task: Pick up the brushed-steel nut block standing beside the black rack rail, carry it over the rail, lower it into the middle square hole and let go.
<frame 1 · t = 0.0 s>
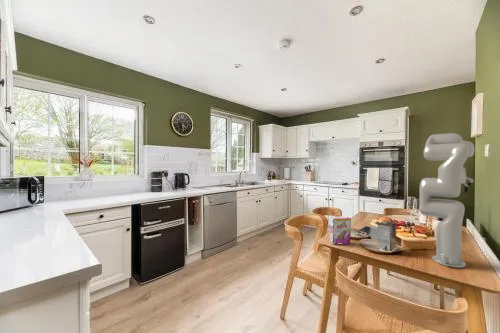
hand: (454, 192, 144), 31 cm above the table, tool pointing down, fingers open, 9 cm apart
nut block: (374, 238, 149), on the table
coffee box: (387, 251, 128), on the table
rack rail: (366, 232, 161), on the table
candy bar box: (340, 243, 140), on the table
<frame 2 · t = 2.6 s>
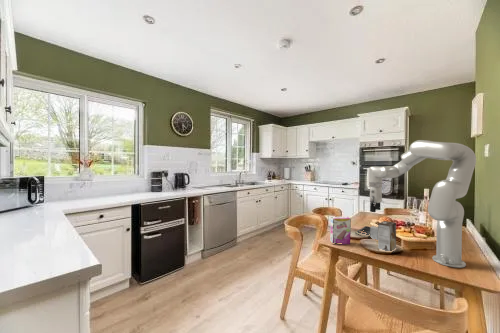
hand: (375, 210, 149), 18 cm above the table, tool pointing down, fingers open, 9 cm apart
nothing on the table moved.
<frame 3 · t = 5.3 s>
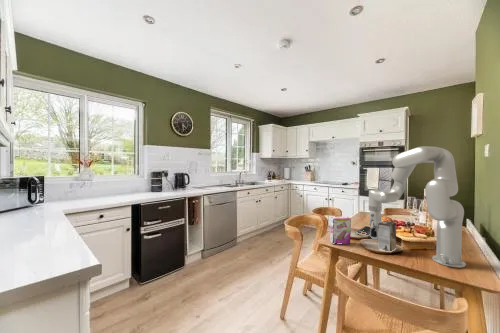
hand: (374, 235, 149), 2 cm above the table, tool pointing down, fingers closed on nut block, 4 cm apart
nut block: (374, 238, 149), on the table, touching gripper
everything else where it was.
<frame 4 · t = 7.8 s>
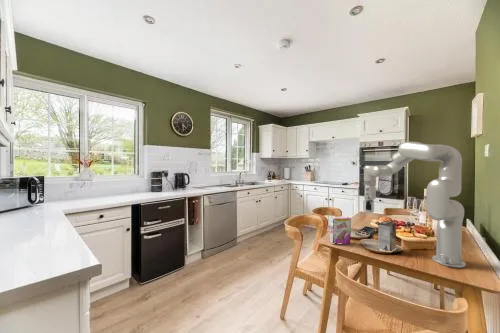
hand: (369, 209, 156), 18 cm above the table, tool pointing down, fingers closed on nut block, 4 cm apart
nut block: (369, 211, 156), point 16 cm above the table, touching gripper
everything else where it was.
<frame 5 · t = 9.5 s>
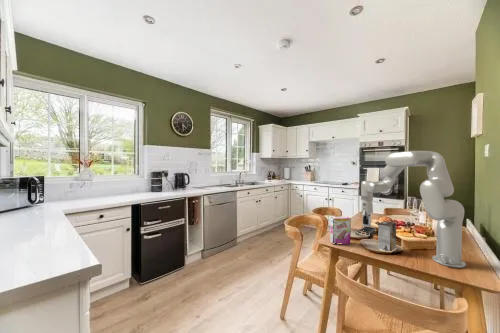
hand: (366, 223, 161), 7 cm above the table, tool pointing down, fingers closed on nut block, 4 cm apart
nut block: (366, 225, 161), point 5 cm above the table, touching gripper
everything else where it was.
when the fingers open (3 cm above the table, at t = 10.6 s): nut block drops 1 cm, resting in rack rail.
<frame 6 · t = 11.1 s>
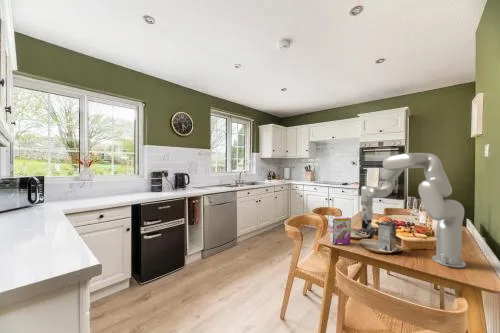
hand: (366, 227, 161), 4 cm above the table, tool pointing down, fingers open, 9 cm apart
nut block: (366, 232, 161), resting in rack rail
everything else where it was.
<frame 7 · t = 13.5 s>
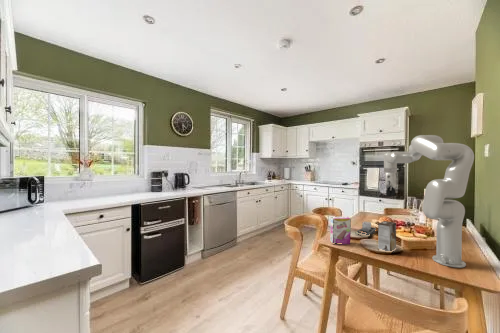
hand: (390, 195, 154), 28 cm above the table, tool pointing down, fingers open, 9 cm apart
nothing on the table moved.
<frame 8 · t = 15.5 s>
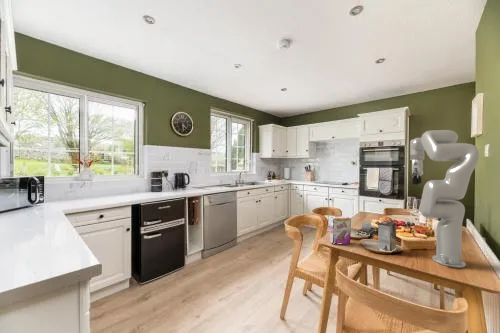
hand: (416, 183, 148), 36 cm above the table, tool pointing down, fingers open, 9 cm apart
nothing on the table moved.
at the end: nut block 0.1 cm off-centre on the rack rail, point 0.0 cm above the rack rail's base; nut block tilted 0°; the gripper is holding nothing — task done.
